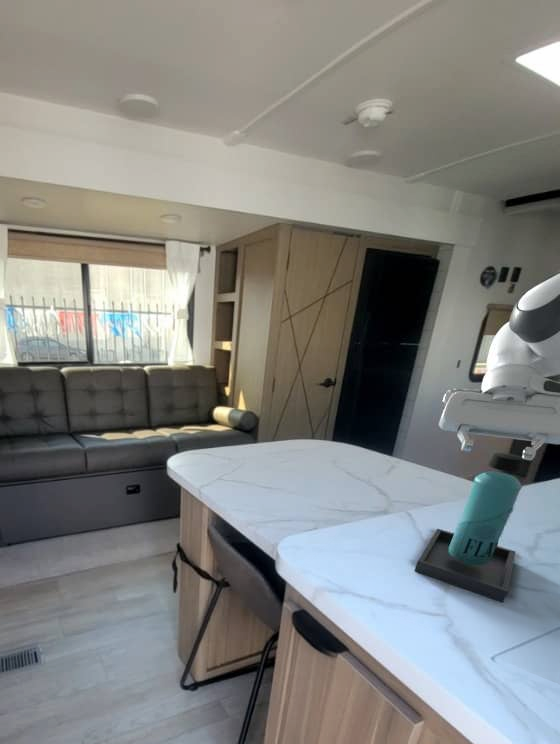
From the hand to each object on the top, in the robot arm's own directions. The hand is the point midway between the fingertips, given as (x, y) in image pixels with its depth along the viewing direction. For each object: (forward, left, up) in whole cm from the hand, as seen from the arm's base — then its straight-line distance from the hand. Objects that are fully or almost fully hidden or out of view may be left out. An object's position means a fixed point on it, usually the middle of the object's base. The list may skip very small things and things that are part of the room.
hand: (496, 453), depth 75 cm
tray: (+5, +13, -17) cm, 22 cm away
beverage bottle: (+5, +13, -17) cm, 22 cm away
